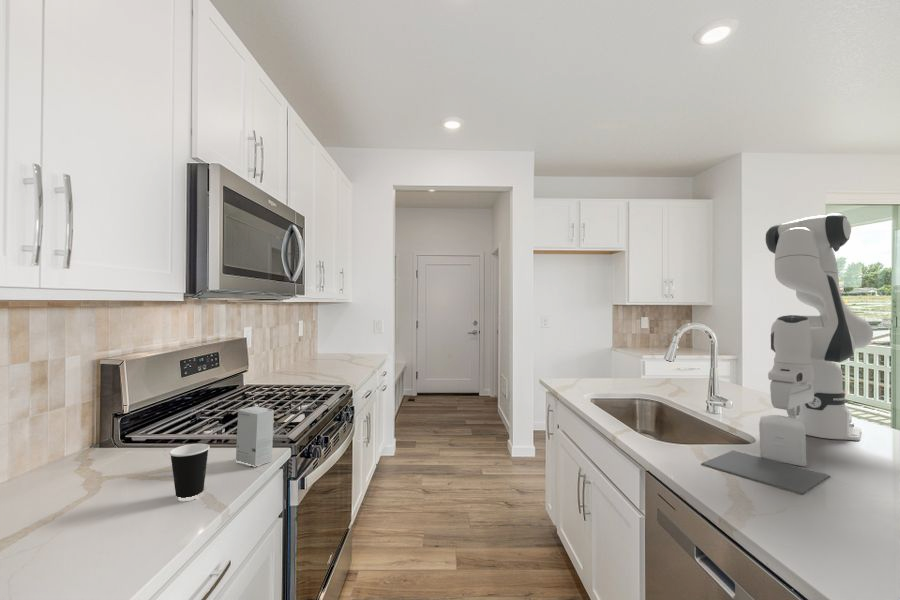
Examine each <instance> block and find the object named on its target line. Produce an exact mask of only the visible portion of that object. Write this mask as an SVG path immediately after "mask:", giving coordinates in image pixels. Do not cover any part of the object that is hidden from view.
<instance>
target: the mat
mask: <svg viewBox="0 0 900 600" xmlns="http://www.w3.org/2000/svg"><path fill="white" fill-rule="evenodd" d="M701 466H705V467H708V468H712V469H715V470H718V471H721V472H725V473H728V474H732V475H735V476H738V477H741V478H746V479H748V480H751V481H756V482H759V483H763V484H765V485H768V486H772V487H774V488H779V489H783V490H785V491H789V492H790V493H791V492H792V493H795V494H798V495H802V496H803V495H805V494H806V493H807V491H808V492H810V491H811V490H812V489H814V488H815V487H817V486H818V485H820V484H821V483H823V482H824V481H826V480H827V479H829V478H831V475H830V474H827V473H823V472H819V471H816V470H811V469H808V468H807V469H806V468H804V467H801V466H797V465H793V464H789V463H784V462H779V461H775V460H770V459H766V458H761V457H760V456H756V455H752V454H749V453H744V452H742V451H741V452H740V451H737V450H732V449H731V450H730V451H728V452H725V453H723V454H720V455H718V456H716V457H713V458H711V459H709V460H708V459H707V460H706V461H703V462H701ZM810 489H811V490H810Z"/></svg>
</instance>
